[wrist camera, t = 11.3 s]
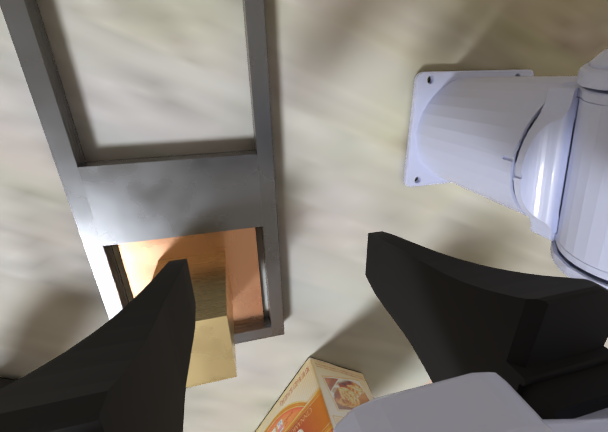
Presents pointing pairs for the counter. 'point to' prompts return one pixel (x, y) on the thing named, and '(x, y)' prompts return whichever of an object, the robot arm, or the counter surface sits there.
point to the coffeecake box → (317, 399)
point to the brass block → (210, 318)
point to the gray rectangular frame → (166, 188)
